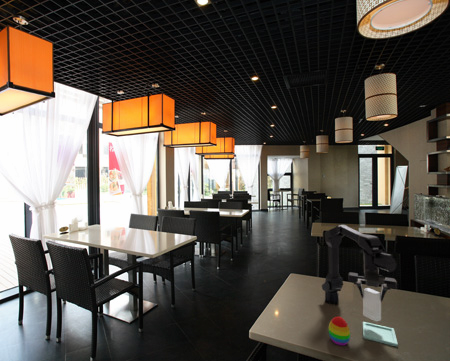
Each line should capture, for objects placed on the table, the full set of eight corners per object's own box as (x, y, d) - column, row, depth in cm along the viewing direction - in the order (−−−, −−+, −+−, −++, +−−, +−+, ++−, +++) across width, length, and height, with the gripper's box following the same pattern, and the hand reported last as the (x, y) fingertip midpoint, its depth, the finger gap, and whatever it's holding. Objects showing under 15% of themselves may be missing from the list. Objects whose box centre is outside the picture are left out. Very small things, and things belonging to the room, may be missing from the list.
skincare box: (381, 320, 110) (382, 292, 110) (375, 322, 108) (375, 294, 108) (368, 313, 115) (368, 287, 116) (361, 315, 114) (362, 288, 114)
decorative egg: (324, 340, 104) (324, 316, 104) (334, 333, 109) (334, 310, 109) (343, 350, 98) (343, 325, 98) (353, 342, 103) (353, 318, 103)
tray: (363, 338, 105) (363, 335, 105) (362, 324, 116) (362, 321, 116) (397, 347, 100) (397, 344, 100) (393, 331, 110) (393, 328, 110)
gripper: (347, 266, 110) (348, 302, 109) (398, 273, 101) (399, 312, 100) (348, 259, 119) (348, 292, 119) (395, 265, 111) (395, 301, 110)
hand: (371, 299), depth 112 cm, fingers closed on skincare box, 7 cm apart
